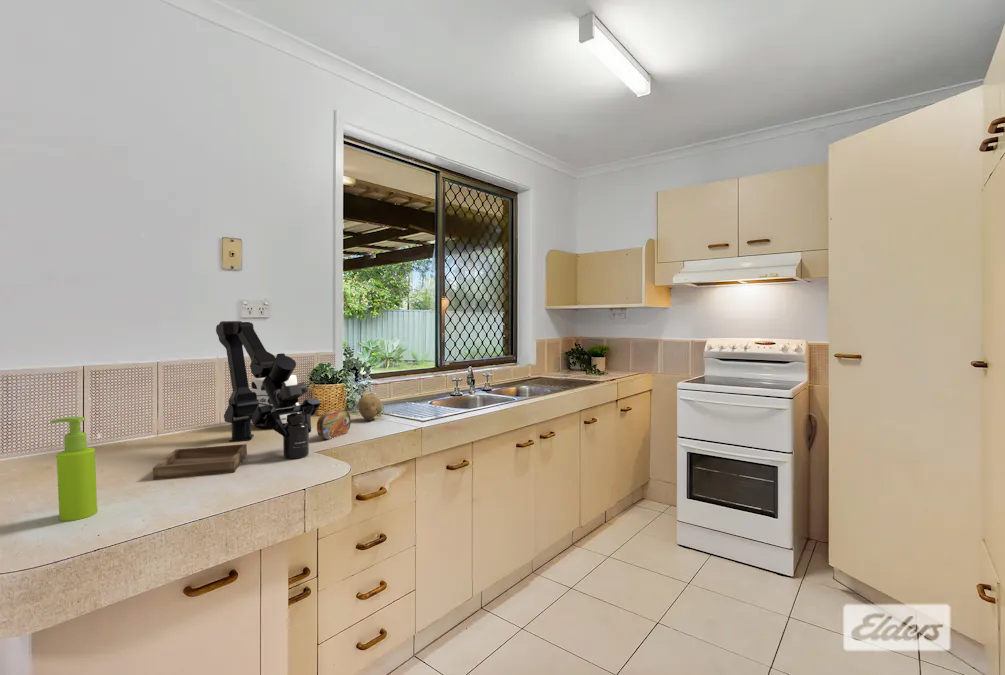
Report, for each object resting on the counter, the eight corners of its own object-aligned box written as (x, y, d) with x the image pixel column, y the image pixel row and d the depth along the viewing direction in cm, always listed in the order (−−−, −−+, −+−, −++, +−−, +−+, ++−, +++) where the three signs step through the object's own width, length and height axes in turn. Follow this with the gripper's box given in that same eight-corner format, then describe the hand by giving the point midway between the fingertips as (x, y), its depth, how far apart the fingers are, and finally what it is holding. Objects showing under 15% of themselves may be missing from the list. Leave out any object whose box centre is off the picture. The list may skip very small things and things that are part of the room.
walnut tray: (176, 459, 141) (175, 449, 141) (247, 454, 146) (246, 444, 146) (153, 479, 124) (152, 467, 124) (234, 472, 129) (234, 460, 129)
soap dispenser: (69, 510, 104) (64, 415, 103) (104, 509, 105) (100, 414, 104) (45, 521, 98) (41, 421, 98) (83, 520, 99) (79, 420, 98)
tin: (323, 442, 160) (322, 416, 160) (315, 441, 161) (314, 415, 161) (351, 431, 175) (351, 407, 174) (344, 431, 176) (343, 407, 175)
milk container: (250, 432, 175) (248, 381, 174) (249, 423, 190) (248, 375, 189) (303, 426, 183) (302, 377, 182) (298, 418, 198) (297, 373, 197)
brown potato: (372, 416, 200) (371, 392, 200) (387, 419, 195) (386, 393, 194) (353, 420, 193) (353, 395, 192) (368, 423, 188) (368, 397, 187)
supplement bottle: (299, 460, 140) (298, 417, 139) (278, 458, 141) (277, 416, 141) (313, 453, 147) (313, 412, 146) (293, 452, 148) (292, 412, 148)
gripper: (255, 377, 138) (276, 422, 132) (316, 371, 153) (338, 411, 146) (242, 403, 143) (262, 447, 137) (303, 394, 158) (323, 434, 152)
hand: (298, 434), depth 143 cm, fingers closed on supplement bottle, 7 cm apart
